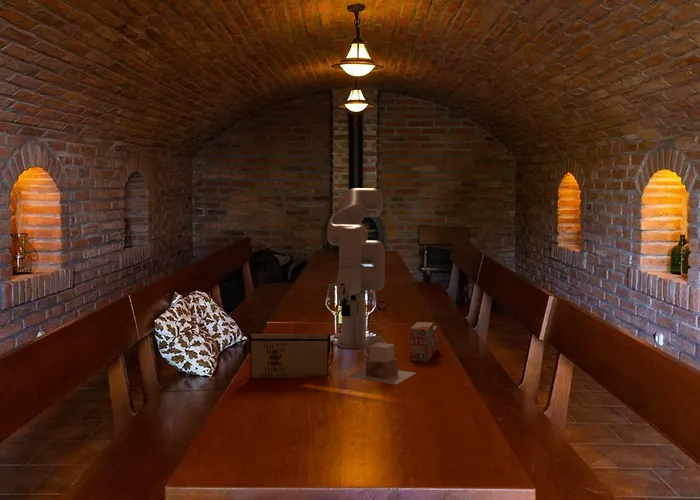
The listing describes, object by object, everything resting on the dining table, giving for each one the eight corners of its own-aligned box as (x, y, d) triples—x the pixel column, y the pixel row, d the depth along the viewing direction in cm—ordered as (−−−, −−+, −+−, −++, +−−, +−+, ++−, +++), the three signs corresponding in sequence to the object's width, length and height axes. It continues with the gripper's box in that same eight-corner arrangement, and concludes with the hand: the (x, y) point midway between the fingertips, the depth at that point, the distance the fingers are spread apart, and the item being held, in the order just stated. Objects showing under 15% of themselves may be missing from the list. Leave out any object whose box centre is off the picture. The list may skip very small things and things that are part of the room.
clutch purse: (333, 374, 250) (333, 330, 248) (333, 379, 243) (334, 334, 241) (245, 374, 249) (245, 330, 247) (242, 379, 242) (242, 334, 240)
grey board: (346, 380, 242) (346, 376, 242) (368, 369, 256) (368, 366, 256) (396, 388, 233) (396, 384, 233) (416, 376, 247) (416, 372, 247)
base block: (365, 376, 243) (365, 361, 242) (376, 370, 250) (376, 356, 249) (387, 379, 239) (387, 364, 238) (397, 373, 246) (397, 358, 246)
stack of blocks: (421, 348, 289) (422, 317, 288) (437, 349, 287) (437, 318, 286) (409, 361, 269) (410, 327, 267) (426, 362, 267) (427, 328, 266)
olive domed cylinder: (339, 315, 255) (339, 301, 255) (346, 313, 260) (346, 299, 259) (352, 317, 253) (352, 303, 253) (359, 314, 258) (359, 300, 257)
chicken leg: (362, 368, 260) (372, 348, 258) (360, 347, 277) (369, 328, 275) (383, 377, 261) (394, 357, 259) (380, 355, 278) (390, 336, 276)
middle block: (369, 360, 243) (369, 345, 242) (377, 357, 248) (377, 342, 247) (386, 363, 240) (386, 348, 239) (393, 359, 245) (394, 344, 245)
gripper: (351, 259, 264) (351, 309, 266) (328, 264, 249) (327, 317, 251) (370, 260, 260) (370, 311, 262) (347, 266, 245) (347, 320, 247)
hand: (349, 314), depth 256 cm, fingers closed on olive domed cylinder, 4 cm apart
